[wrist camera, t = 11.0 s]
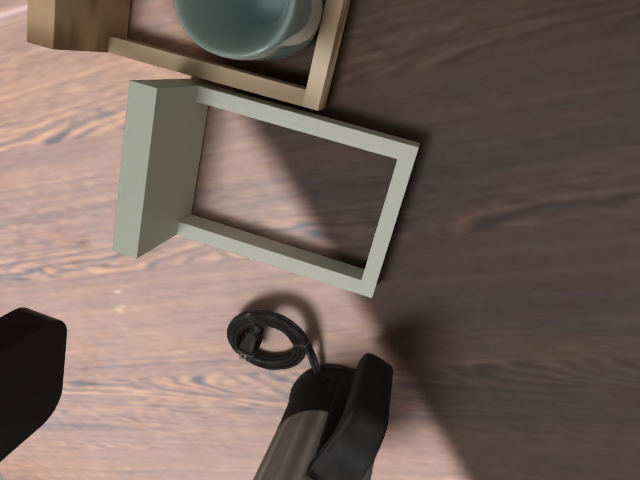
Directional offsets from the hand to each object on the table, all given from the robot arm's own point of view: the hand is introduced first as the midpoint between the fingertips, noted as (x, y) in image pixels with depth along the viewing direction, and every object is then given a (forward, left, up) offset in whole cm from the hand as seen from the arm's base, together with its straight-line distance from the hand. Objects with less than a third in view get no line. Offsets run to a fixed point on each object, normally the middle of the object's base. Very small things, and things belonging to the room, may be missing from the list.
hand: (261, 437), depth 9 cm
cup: (-8, -12, -33) cm, 36 cm away
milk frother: (+22, -2, -33) cm, 40 cm away
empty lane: (+5, -8, -33) cm, 35 cm away
